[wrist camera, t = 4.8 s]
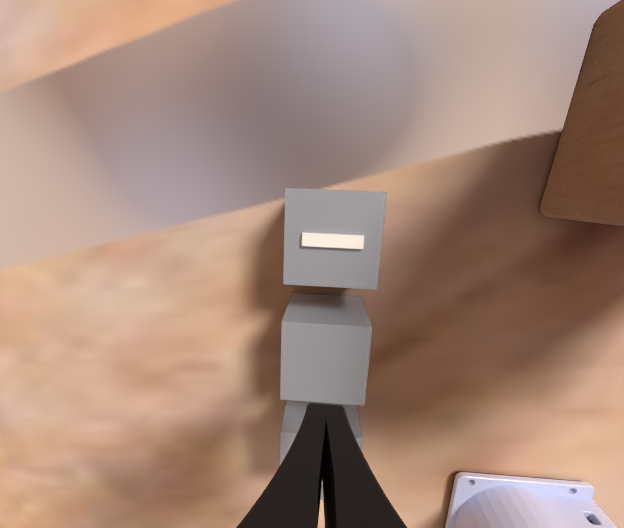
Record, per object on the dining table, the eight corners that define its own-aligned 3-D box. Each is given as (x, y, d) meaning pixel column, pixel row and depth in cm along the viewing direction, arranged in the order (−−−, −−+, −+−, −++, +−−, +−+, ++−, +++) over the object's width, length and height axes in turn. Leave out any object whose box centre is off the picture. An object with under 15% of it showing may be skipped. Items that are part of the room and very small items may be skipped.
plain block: (361, 296, 18) (372, 327, 14) (356, 358, 20) (364, 405, 15) (292, 292, 19) (281, 321, 14) (290, 354, 20) (280, 399, 15)
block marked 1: (371, 193, 17) (387, 192, 12) (364, 267, 18) (377, 290, 13) (295, 190, 17) (284, 187, 13) (293, 263, 18) (282, 285, 14)
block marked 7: (354, 385, 20) (362, 441, 15) (350, 438, 21) (356, 505, 16) (290, 380, 20) (279, 434, 16) (289, 434, 21) (278, 499, 17)
